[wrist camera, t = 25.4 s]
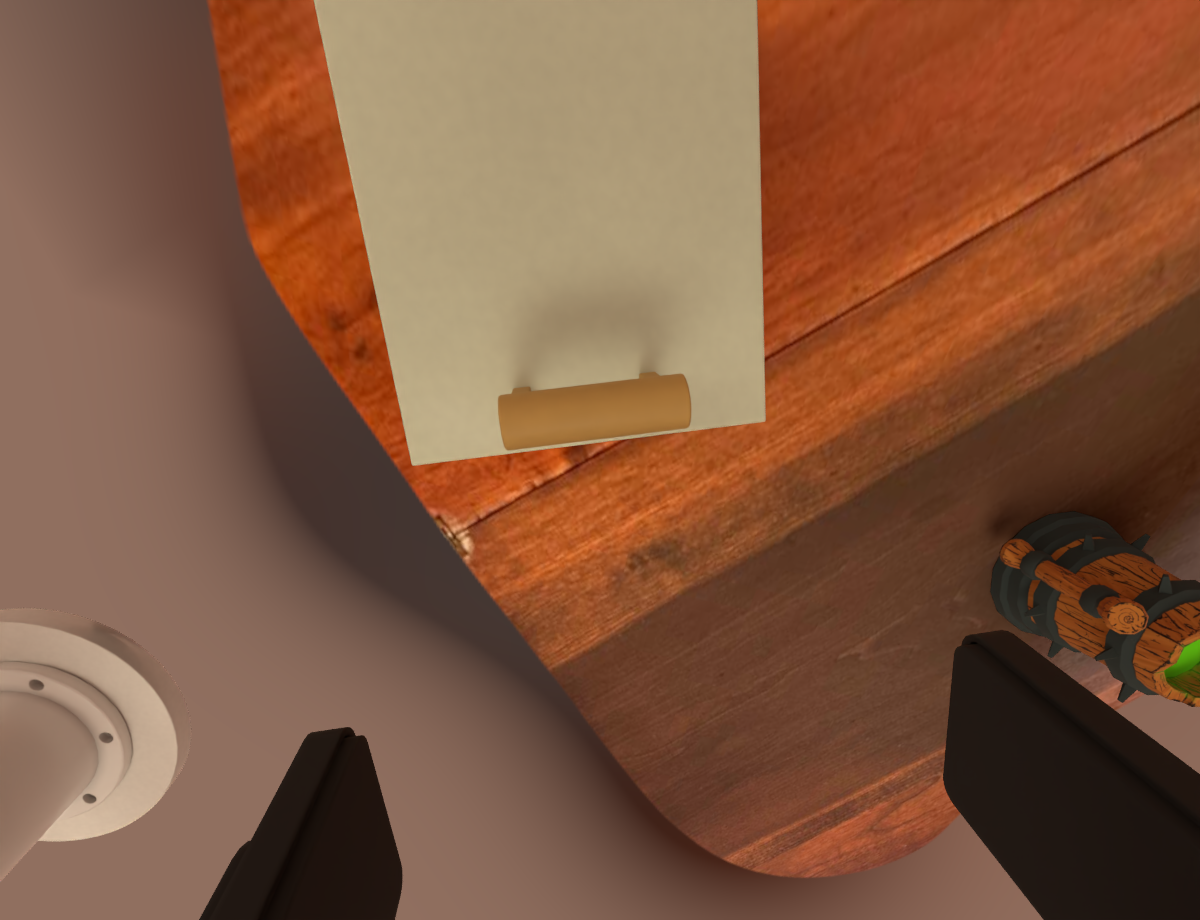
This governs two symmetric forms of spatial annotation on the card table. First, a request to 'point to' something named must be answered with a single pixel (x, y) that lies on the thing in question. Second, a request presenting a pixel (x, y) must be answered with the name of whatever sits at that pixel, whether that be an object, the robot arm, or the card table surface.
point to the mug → (1103, 603)
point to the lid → (557, 214)
